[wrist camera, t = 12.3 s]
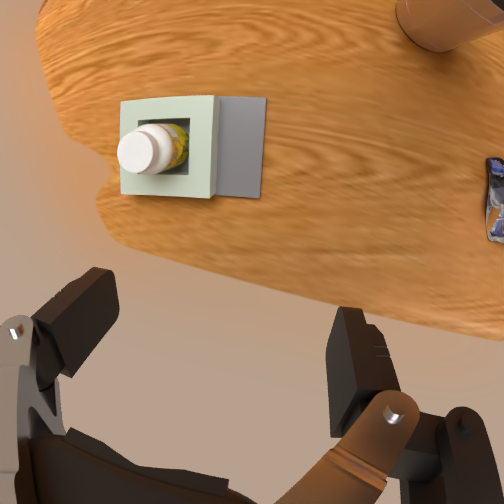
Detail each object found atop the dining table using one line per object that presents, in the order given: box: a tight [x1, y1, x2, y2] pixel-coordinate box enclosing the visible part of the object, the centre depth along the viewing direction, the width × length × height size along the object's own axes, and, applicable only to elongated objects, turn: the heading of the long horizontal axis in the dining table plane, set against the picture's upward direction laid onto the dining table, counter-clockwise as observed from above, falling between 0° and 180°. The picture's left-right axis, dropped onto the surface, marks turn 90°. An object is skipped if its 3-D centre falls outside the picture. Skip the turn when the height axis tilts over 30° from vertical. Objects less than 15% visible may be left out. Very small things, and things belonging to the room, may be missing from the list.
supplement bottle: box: [117, 124, 190, 175], centre depth 29 cm, size 5×5×10 cm
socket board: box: [120, 95, 267, 198], centre depth 32 cm, size 12×17×4 cm
